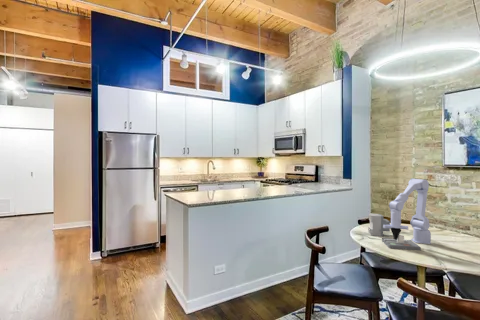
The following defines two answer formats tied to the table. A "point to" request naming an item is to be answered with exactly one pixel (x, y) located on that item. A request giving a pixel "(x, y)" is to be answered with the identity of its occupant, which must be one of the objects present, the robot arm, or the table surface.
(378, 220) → the circuit breaker
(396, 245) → the panel
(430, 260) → the table surface
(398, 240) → the handle
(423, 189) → the robot arm
